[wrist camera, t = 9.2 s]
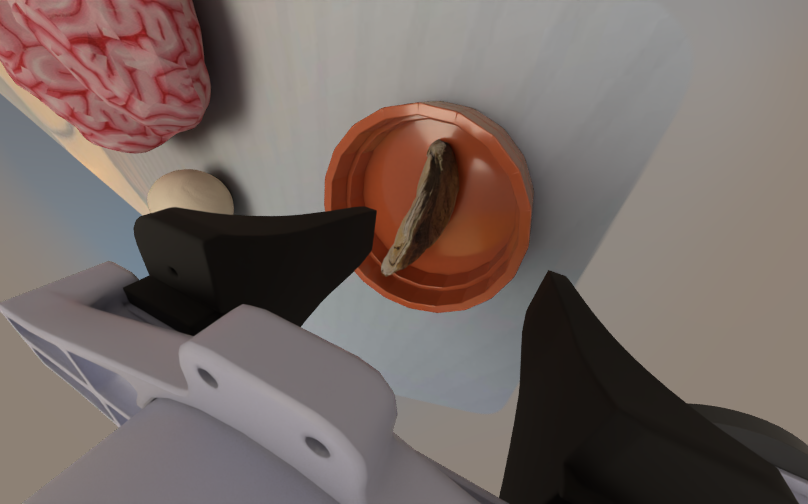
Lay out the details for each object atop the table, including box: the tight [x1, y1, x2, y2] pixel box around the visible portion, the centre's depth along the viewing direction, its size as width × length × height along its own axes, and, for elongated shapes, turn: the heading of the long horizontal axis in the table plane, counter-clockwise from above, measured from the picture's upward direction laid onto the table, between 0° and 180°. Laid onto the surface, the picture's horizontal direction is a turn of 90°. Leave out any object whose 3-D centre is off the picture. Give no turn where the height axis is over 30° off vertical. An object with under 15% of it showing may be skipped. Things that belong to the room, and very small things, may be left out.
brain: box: [0, 0, 211, 153], centre depth 21 cm, size 19×18×10 cm
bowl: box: [324, 101, 534, 313], centre depth 20 cm, size 14×14×4 cm
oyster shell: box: [381, 139, 459, 277], centre depth 21 cm, size 6×4×10 cm
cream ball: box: [147, 169, 234, 215], centre depth 29 cm, size 7×7×7 cm
